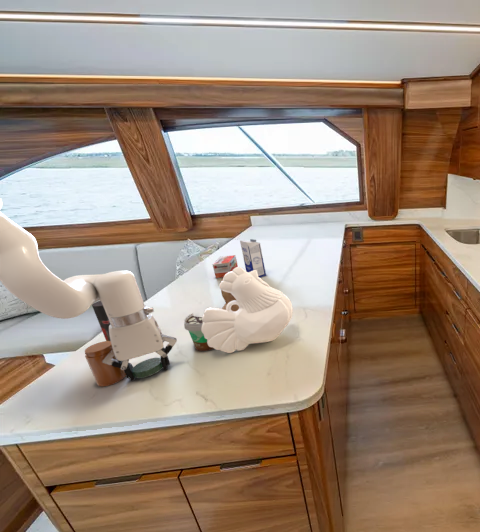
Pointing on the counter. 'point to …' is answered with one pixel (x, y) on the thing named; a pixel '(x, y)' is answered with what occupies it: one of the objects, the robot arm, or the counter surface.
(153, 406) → the counter surface
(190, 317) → the food container
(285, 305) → the decorative rooster
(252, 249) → the milk carton
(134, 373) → the lid
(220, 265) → the medicine box
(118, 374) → the jar
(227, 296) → the stone cup
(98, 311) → the deodorant
